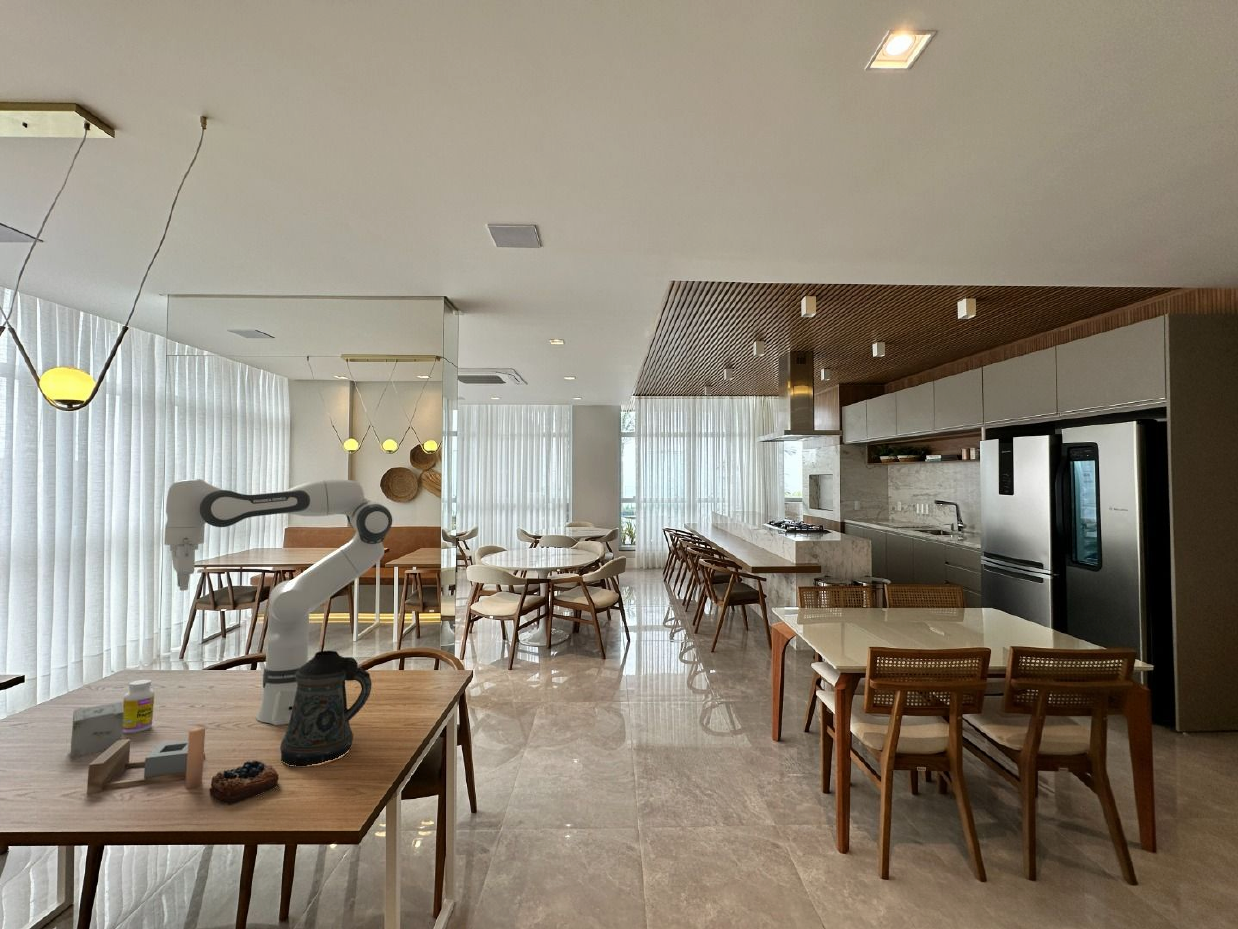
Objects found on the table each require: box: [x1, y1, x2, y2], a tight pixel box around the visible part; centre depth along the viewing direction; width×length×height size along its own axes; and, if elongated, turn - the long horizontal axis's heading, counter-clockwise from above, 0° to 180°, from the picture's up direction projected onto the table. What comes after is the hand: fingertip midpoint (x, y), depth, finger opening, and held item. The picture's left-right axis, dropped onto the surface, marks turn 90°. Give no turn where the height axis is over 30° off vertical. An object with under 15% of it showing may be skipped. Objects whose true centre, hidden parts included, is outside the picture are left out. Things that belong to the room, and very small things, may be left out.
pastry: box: [208, 759, 279, 806], centre depth 129 cm, size 11×12×6 cm
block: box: [143, 739, 188, 778], centre depth 138 cm, size 8×9×5 cm
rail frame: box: [86, 738, 206, 794], centre depth 136 cm, size 18×14×6 cm
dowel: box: [185, 726, 206, 789], centre depth 131 cm, size 3×3×12 cm
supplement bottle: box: [122, 679, 155, 734], centre depth 163 cm, size 7×7×13 cm
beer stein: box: [279, 650, 372, 766], centre depth 150 cm, size 16×19×25 cm
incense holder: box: [69, 701, 124, 760], centre depth 149 cm, size 10×8×10 cm
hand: (182, 588), depth 161 cm, fingers open, 8 cm apart
